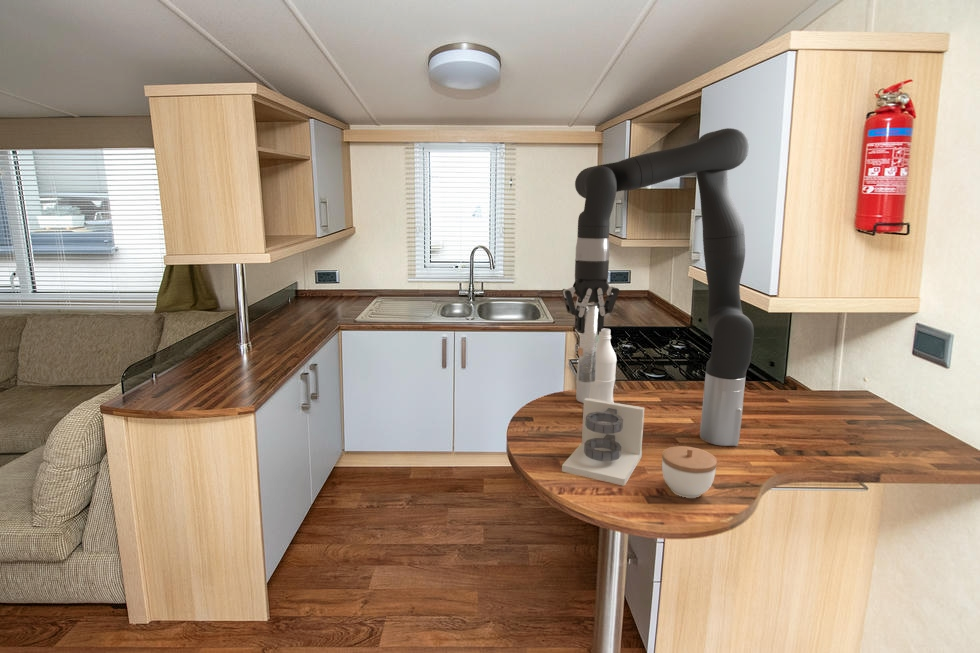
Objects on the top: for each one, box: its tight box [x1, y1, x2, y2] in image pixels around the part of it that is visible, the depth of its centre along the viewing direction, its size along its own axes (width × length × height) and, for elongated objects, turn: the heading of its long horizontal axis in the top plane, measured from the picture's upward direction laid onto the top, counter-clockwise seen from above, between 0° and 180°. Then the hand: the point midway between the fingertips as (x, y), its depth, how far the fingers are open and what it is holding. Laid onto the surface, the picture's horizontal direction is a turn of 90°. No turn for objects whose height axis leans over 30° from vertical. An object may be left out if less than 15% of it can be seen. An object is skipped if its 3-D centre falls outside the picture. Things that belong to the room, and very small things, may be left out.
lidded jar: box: [661, 445, 718, 499], centre depth 121 cm, size 11×11×9 cm
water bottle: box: [589, 327, 618, 403], centre depth 160 cm, size 7×7×25 cm
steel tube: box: [577, 302, 599, 382], centre depth 137 cm, size 4×4×18 cm
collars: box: [584, 408, 623, 461], centre depth 133 cm, size 8×11×8 cm
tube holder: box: [561, 398, 645, 487], centre depth 133 cm, size 14×16×12 cm
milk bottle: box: [575, 334, 599, 404], centre depth 174 cm, size 8×8×20 cm
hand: (588, 331), depth 137 cm, fingers closed on steel tube, 4 cm apart
